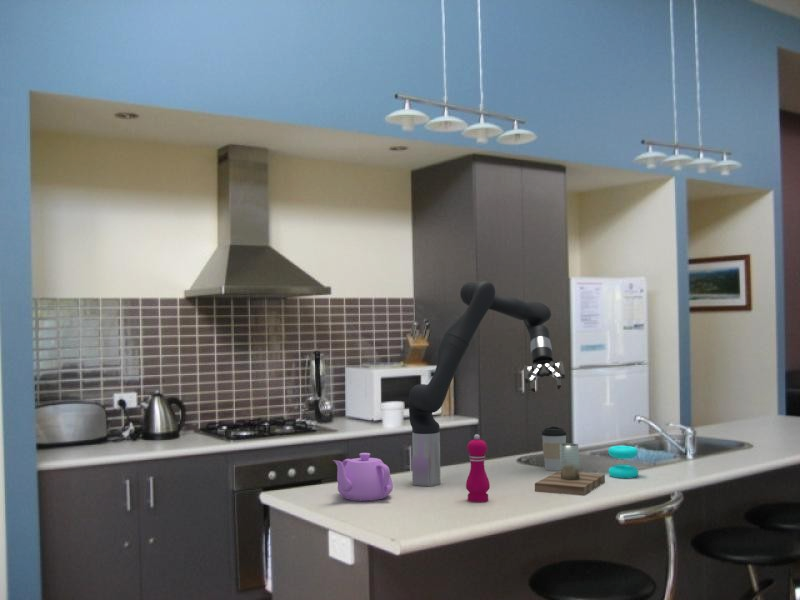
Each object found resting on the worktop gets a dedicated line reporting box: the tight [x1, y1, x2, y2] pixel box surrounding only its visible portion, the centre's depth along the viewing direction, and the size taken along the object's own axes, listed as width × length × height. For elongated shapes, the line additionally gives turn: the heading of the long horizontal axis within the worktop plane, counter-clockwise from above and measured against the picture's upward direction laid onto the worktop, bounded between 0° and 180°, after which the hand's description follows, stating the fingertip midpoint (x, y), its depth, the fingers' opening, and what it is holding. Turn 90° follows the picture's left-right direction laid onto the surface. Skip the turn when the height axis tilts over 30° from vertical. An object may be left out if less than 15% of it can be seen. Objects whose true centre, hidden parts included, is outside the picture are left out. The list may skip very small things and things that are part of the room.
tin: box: [560, 442, 580, 480], centre depth 281 cm, size 6×6×11 cm
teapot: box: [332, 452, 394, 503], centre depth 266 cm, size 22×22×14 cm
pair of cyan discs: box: [607, 445, 639, 479], centre depth 297 cm, size 10×10×10 cm
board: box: [534, 470, 606, 496], centre depth 280 cm, size 24×16×2 cm, turn 152°
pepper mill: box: [465, 433, 491, 503], centre depth 262 cm, size 7×7×20 cm
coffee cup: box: [541, 426, 568, 472], centre depth 313 cm, size 9×9×15 cm
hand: (546, 389), depth 301 cm, fingers open, 8 cm apart
